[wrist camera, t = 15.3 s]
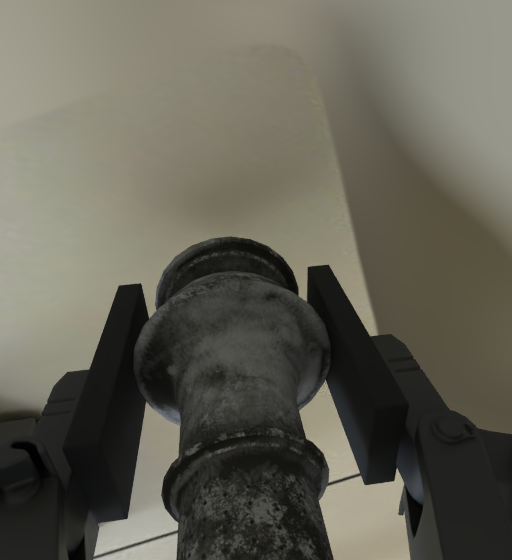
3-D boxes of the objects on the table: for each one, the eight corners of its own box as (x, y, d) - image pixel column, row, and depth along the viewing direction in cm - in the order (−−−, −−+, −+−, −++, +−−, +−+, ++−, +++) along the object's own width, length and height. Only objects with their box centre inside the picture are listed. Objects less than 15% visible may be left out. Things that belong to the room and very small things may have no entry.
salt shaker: (336, 301, 16) (600, 801, 5) (225, 385, 17) (260, 902, 7) (232, 193, 13) (344, 760, 3) (112, 303, 14) (-113, 940, 4)
